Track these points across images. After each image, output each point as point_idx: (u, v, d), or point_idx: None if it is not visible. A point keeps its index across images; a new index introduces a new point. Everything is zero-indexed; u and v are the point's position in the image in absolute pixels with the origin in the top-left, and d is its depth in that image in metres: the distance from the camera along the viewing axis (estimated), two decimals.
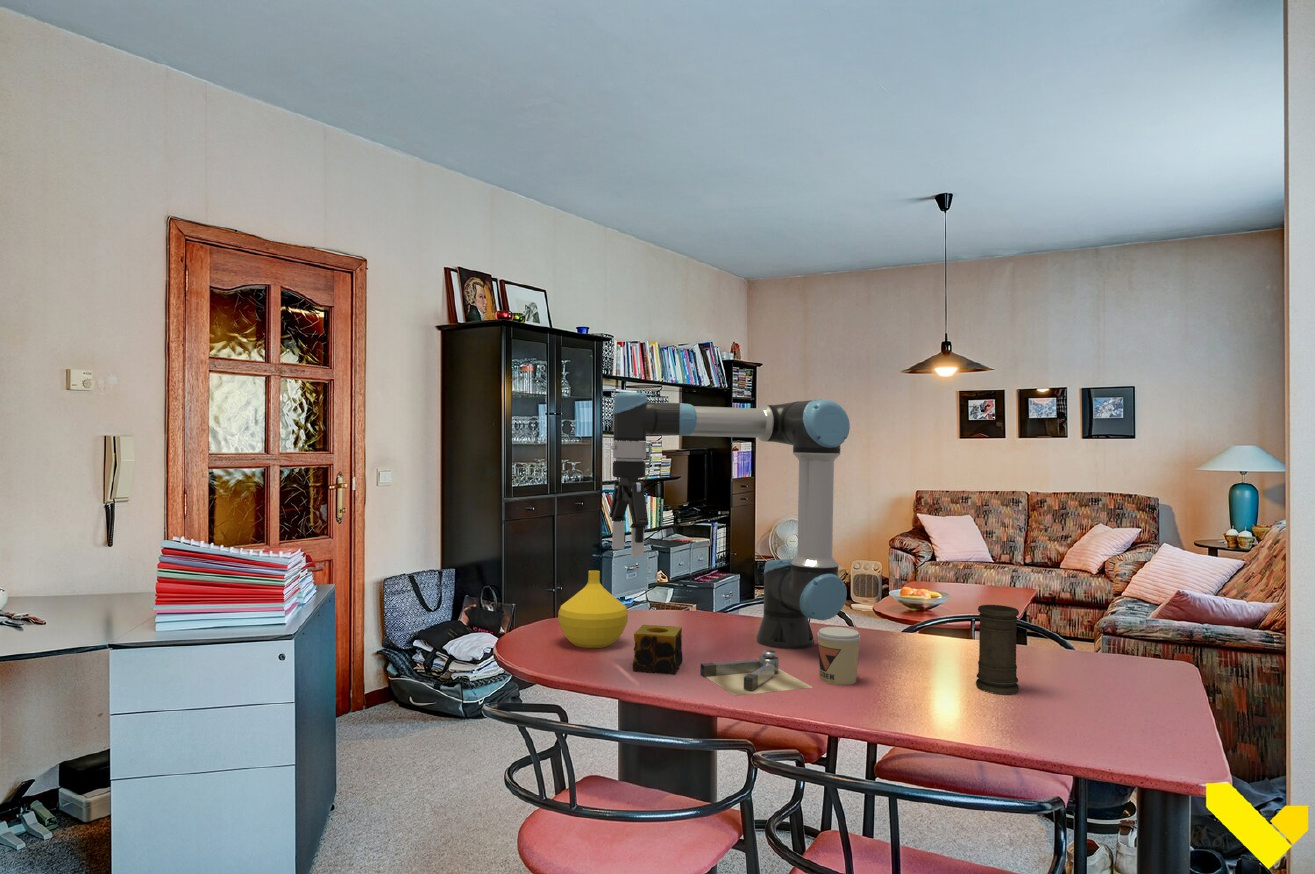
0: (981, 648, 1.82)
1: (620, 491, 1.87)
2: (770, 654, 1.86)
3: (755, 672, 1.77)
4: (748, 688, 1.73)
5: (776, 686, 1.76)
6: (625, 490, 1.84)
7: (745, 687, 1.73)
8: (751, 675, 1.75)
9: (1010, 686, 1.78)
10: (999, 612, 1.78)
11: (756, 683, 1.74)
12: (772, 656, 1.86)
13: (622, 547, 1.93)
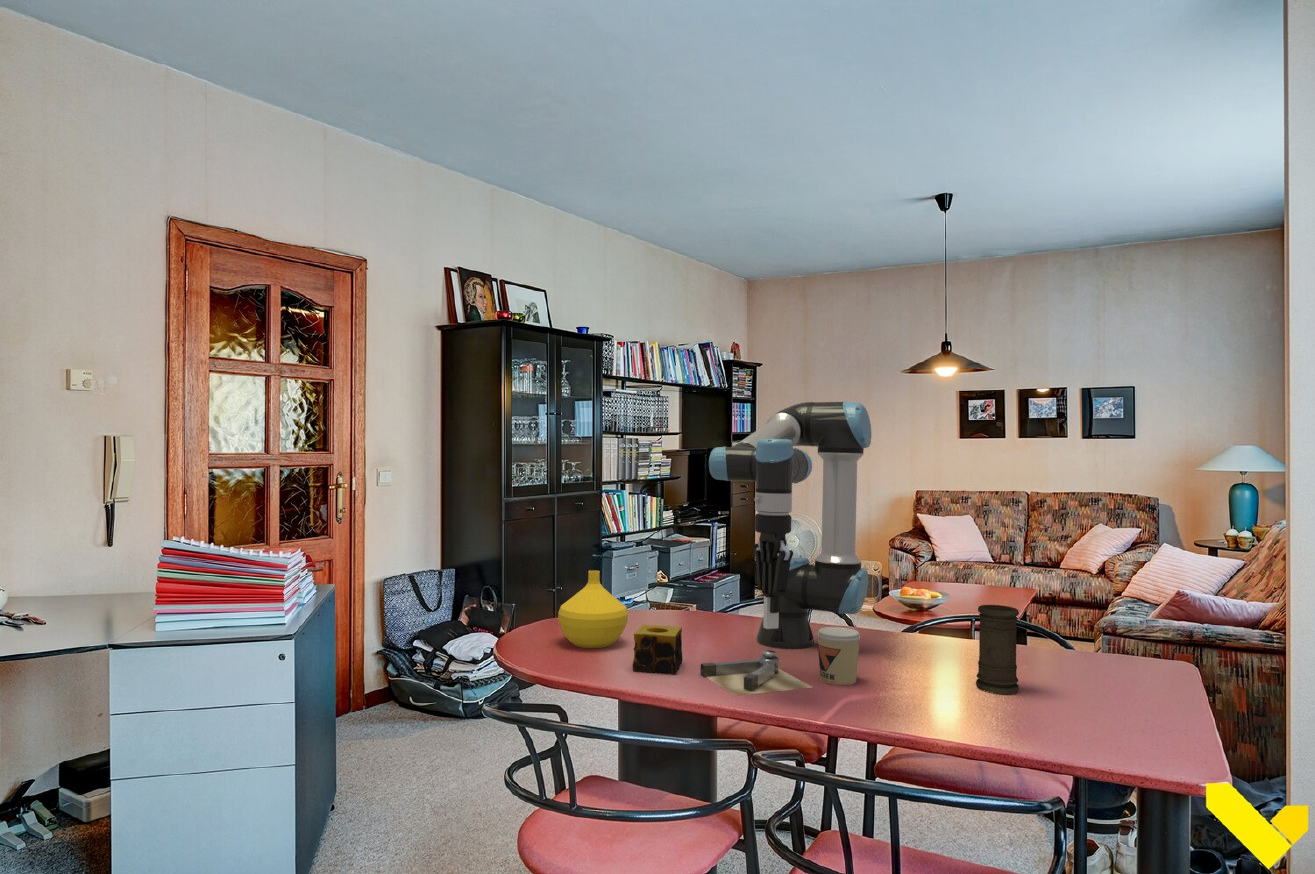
0: (981, 648, 1.82)
1: (764, 547, 1.69)
2: (770, 654, 1.86)
3: (755, 672, 1.77)
4: (748, 688, 1.73)
5: (776, 686, 1.76)
6: (770, 550, 1.66)
7: (745, 687, 1.73)
8: (751, 675, 1.75)
9: (1010, 686, 1.78)
10: (999, 612, 1.78)
11: (756, 683, 1.74)
12: (772, 656, 1.86)
13: None
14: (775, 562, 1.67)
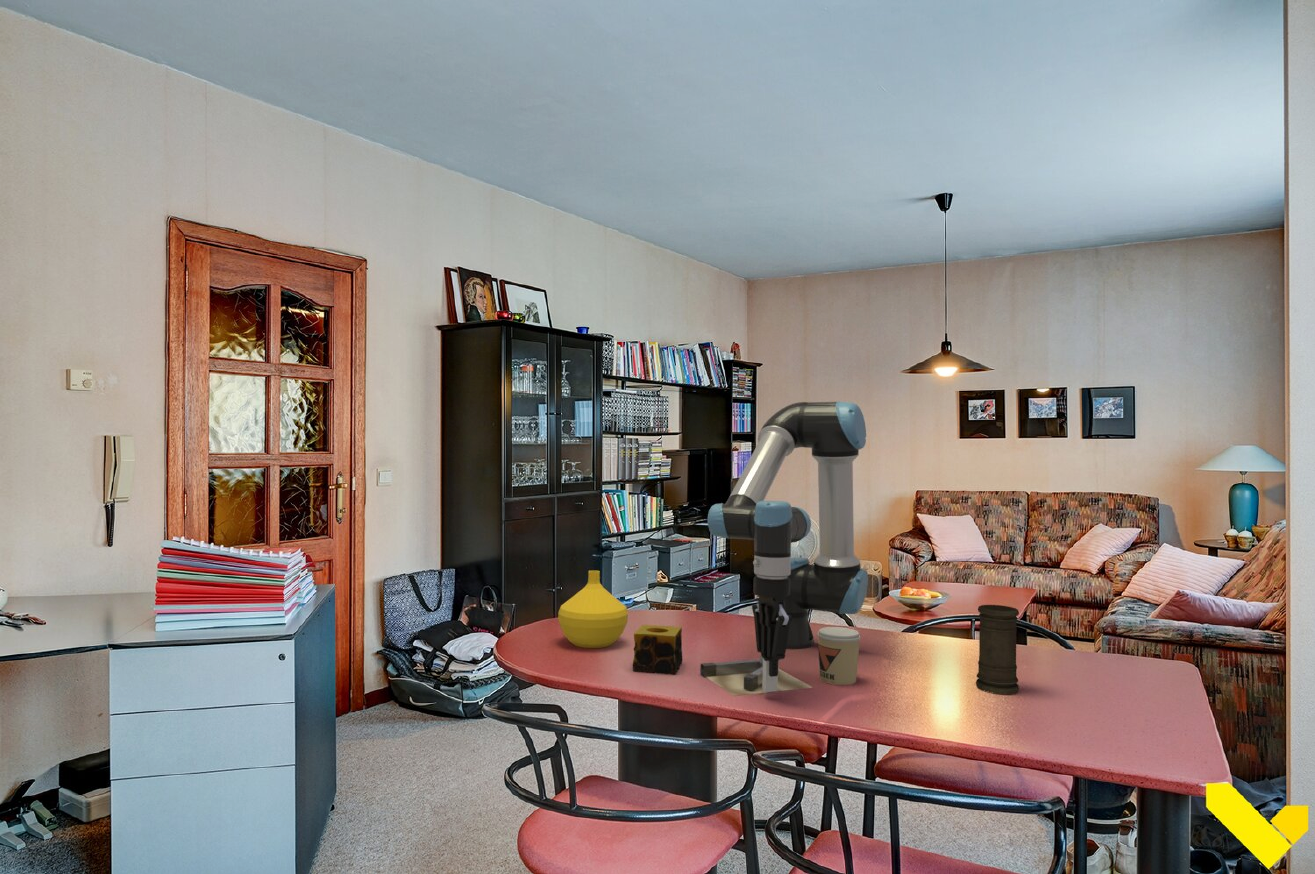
0: (981, 648, 1.82)
1: (763, 609, 1.69)
2: None
3: (755, 672, 1.77)
4: (748, 688, 1.73)
5: None
6: (769, 614, 1.66)
7: (745, 687, 1.73)
8: (751, 675, 1.75)
9: (1010, 686, 1.78)
10: (999, 612, 1.78)
11: (756, 683, 1.74)
12: None
13: None
14: (774, 625, 1.67)
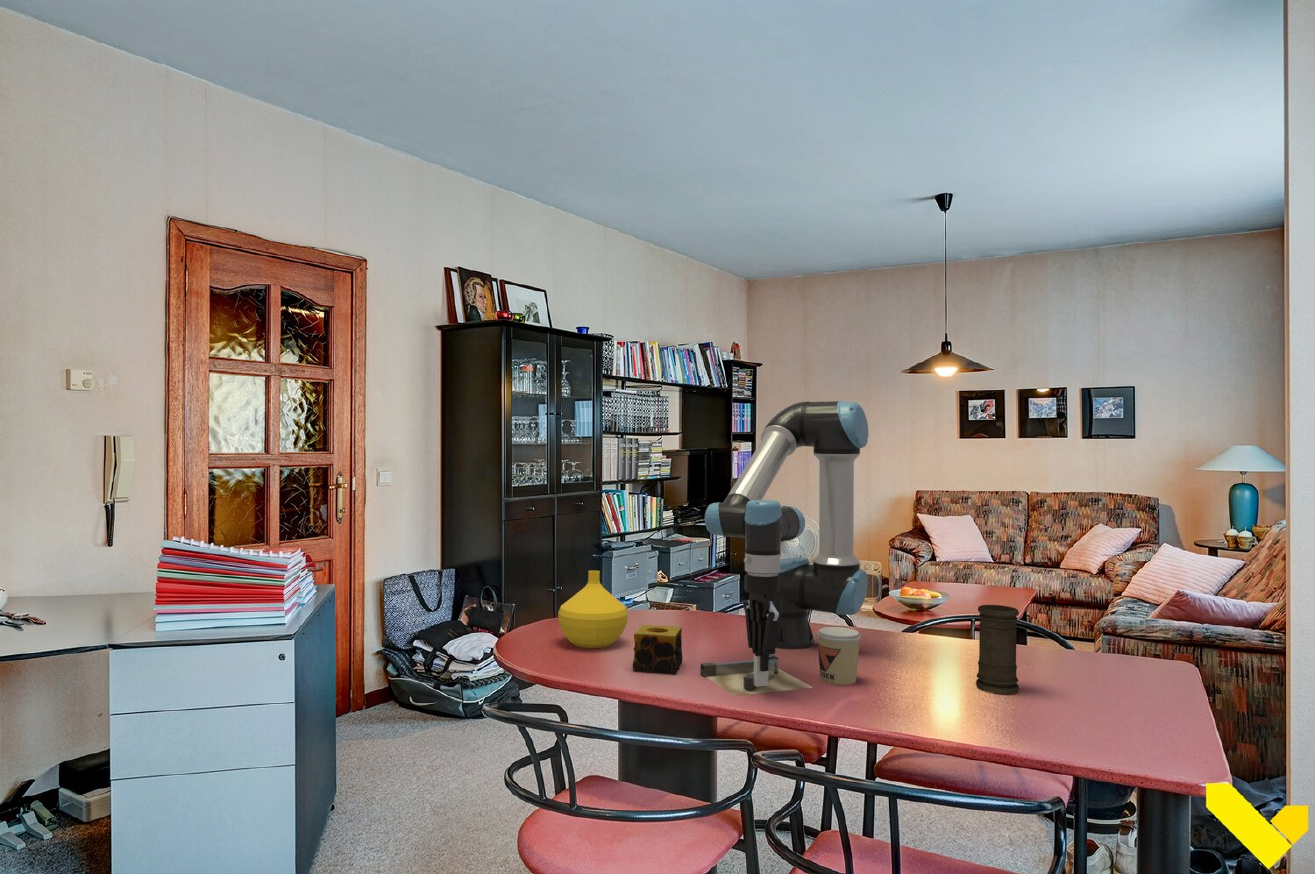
0: (981, 648, 1.82)
1: (753, 606, 1.73)
2: None
3: None
4: (748, 688, 1.73)
5: (776, 686, 1.76)
6: (759, 610, 1.70)
7: (745, 687, 1.73)
8: (751, 675, 1.75)
9: (1010, 686, 1.78)
10: (999, 612, 1.78)
11: None
12: (772, 656, 1.86)
13: None
14: (764, 622, 1.71)
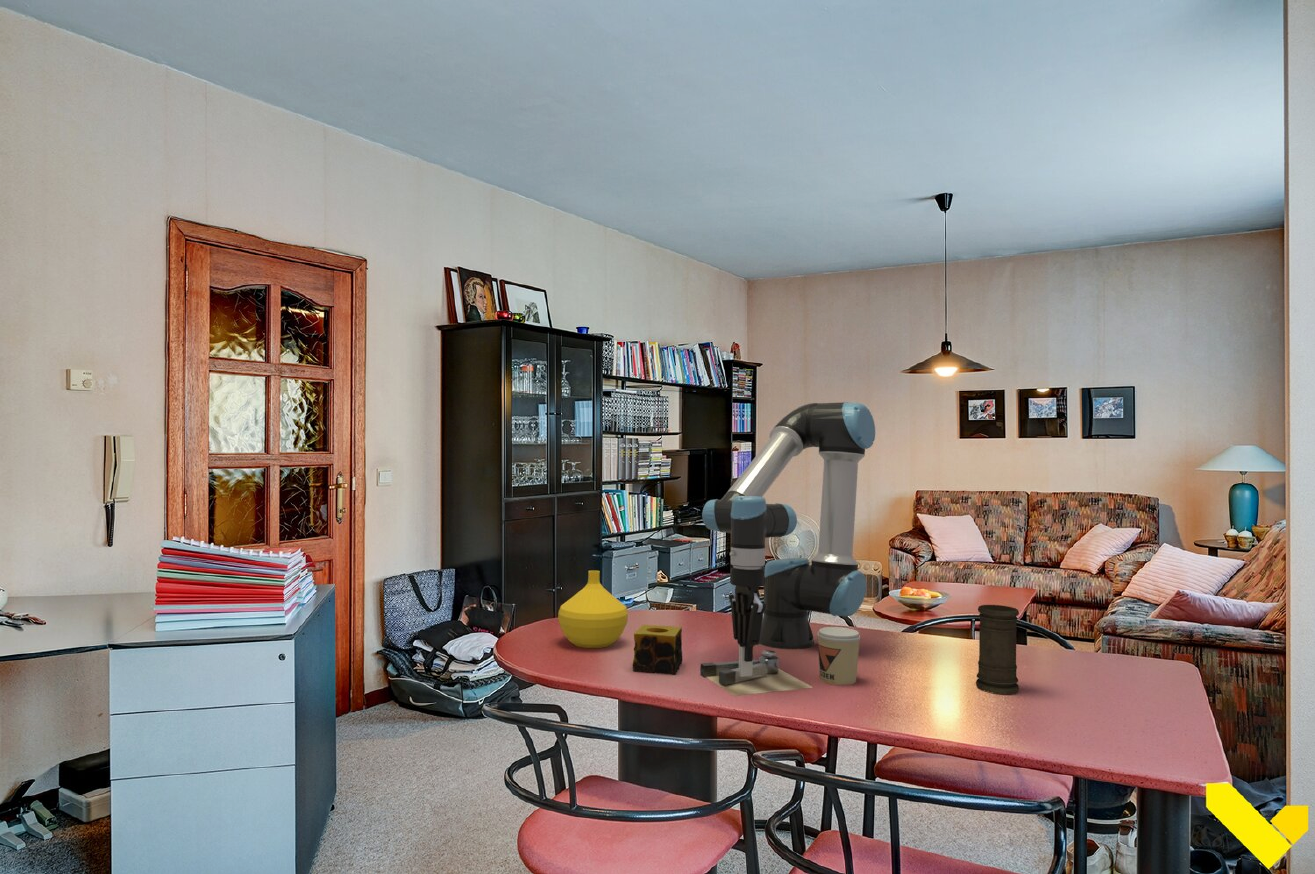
0: (981, 648, 1.82)
1: (739, 598, 1.79)
2: (767, 654, 1.86)
3: (737, 668, 1.80)
4: (722, 682, 1.76)
5: (776, 686, 1.76)
6: (744, 602, 1.76)
7: (720, 681, 1.77)
8: (728, 670, 1.78)
9: (1010, 686, 1.78)
10: (999, 612, 1.78)
11: (732, 679, 1.77)
12: (770, 656, 1.86)
13: None
14: (749, 613, 1.77)
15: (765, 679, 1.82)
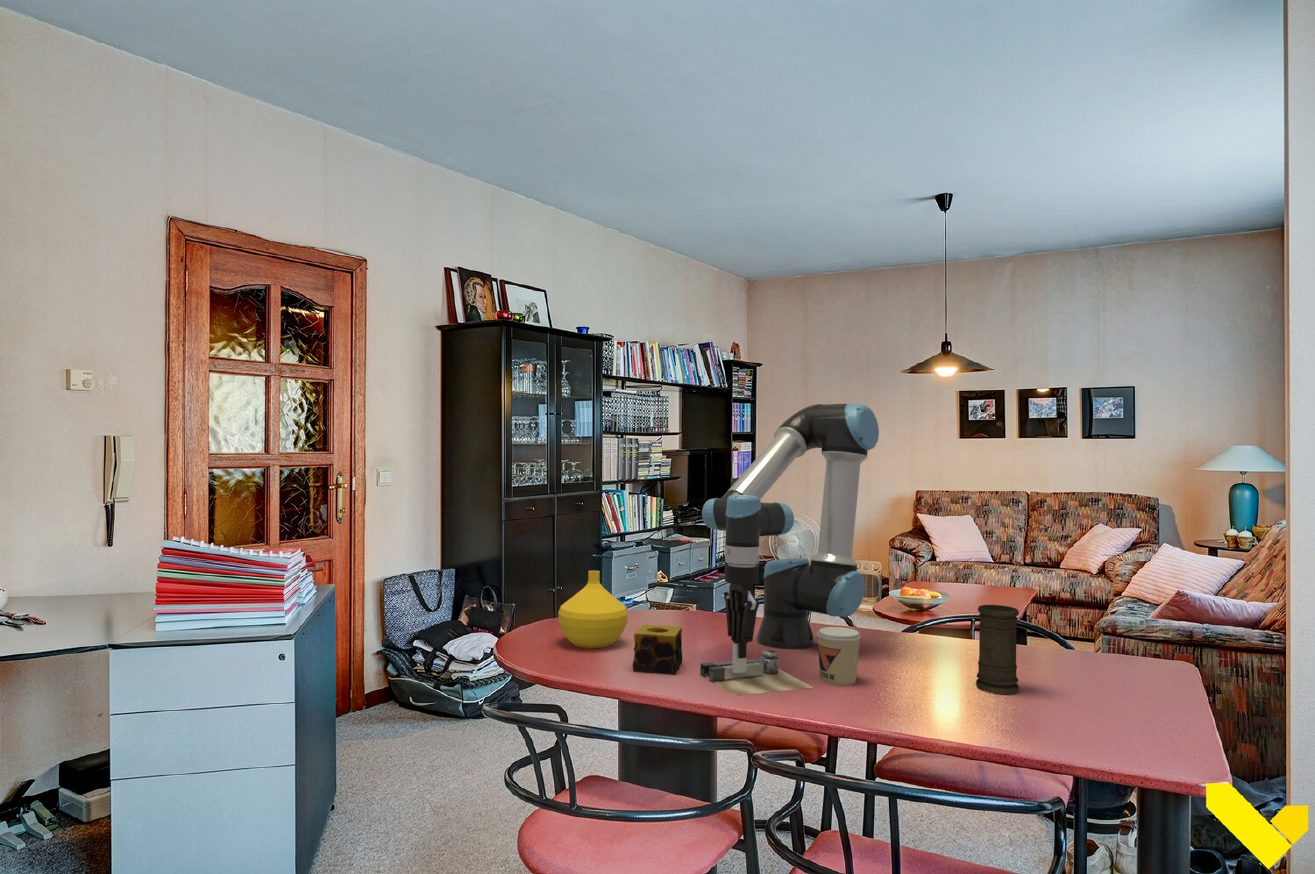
0: (981, 648, 1.82)
1: (733, 596, 1.81)
2: (766, 654, 1.86)
3: (729, 666, 1.82)
4: (710, 678, 1.79)
5: (776, 686, 1.76)
6: (738, 599, 1.79)
7: (709, 677, 1.80)
8: (718, 667, 1.80)
9: (1010, 686, 1.78)
10: (999, 612, 1.78)
11: (721, 675, 1.79)
12: (768, 656, 1.86)
13: None
14: (743, 611, 1.79)
15: (765, 679, 1.82)
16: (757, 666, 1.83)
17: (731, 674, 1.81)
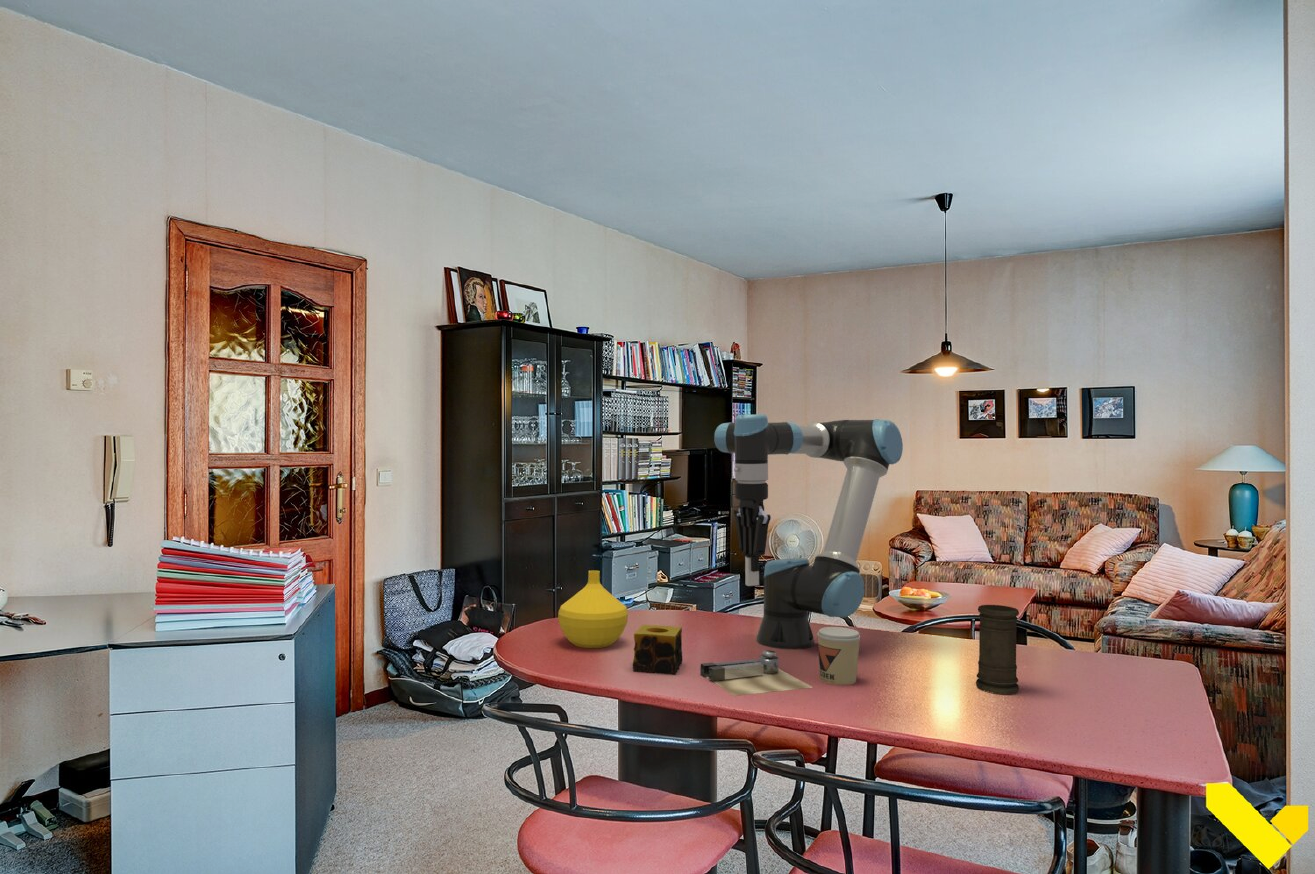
0: (981, 648, 1.82)
1: (744, 512, 1.86)
2: (766, 654, 1.86)
3: (729, 666, 1.82)
4: (710, 678, 1.79)
5: (776, 686, 1.76)
6: (749, 515, 1.84)
7: (709, 677, 1.80)
8: (718, 667, 1.80)
9: (1010, 686, 1.78)
10: (999, 612, 1.78)
11: (721, 675, 1.79)
12: (768, 656, 1.86)
13: None
14: (754, 526, 1.84)
15: (765, 679, 1.82)
16: (757, 666, 1.83)
17: (731, 674, 1.81)
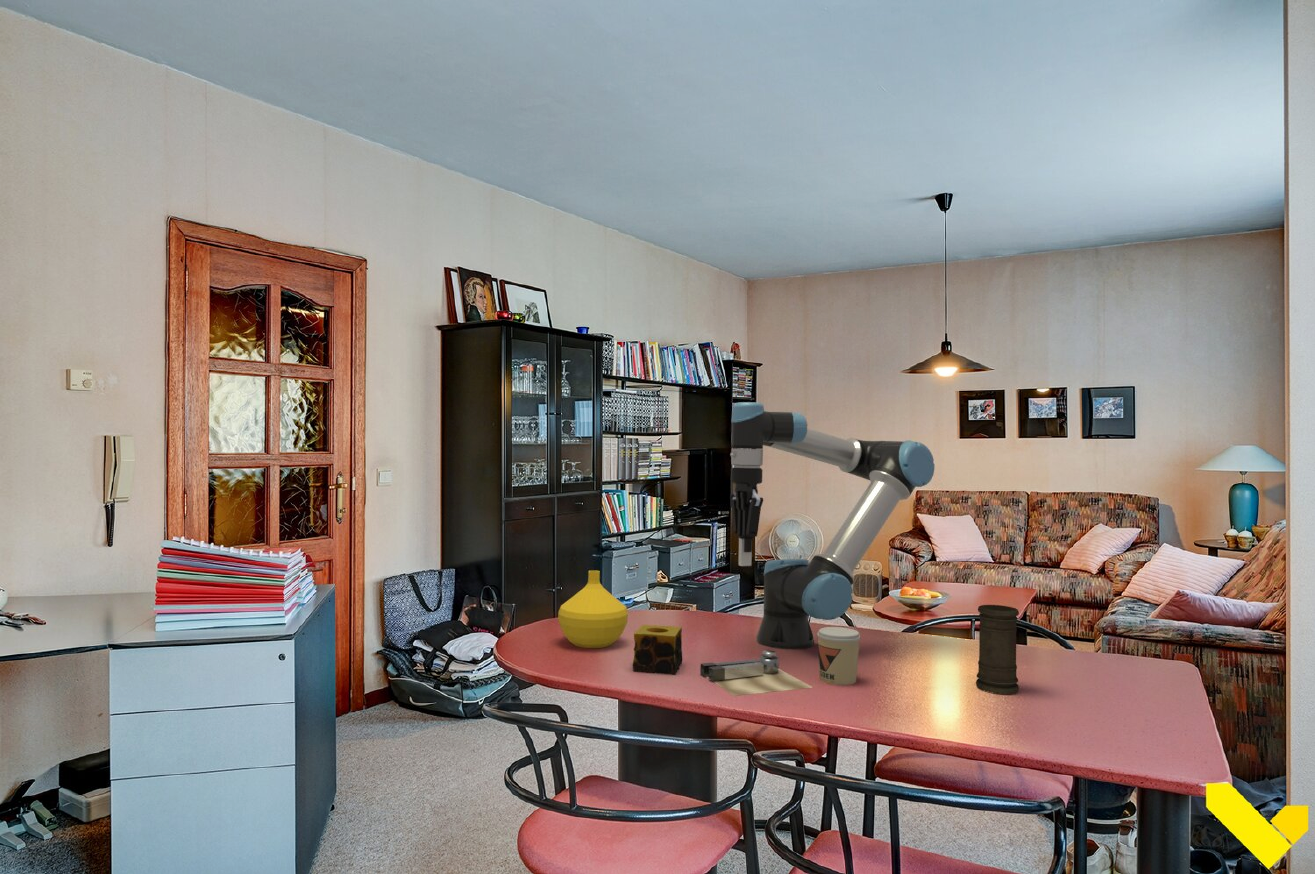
0: (981, 648, 1.82)
1: (739, 495, 1.96)
2: (766, 654, 1.86)
3: (729, 666, 1.82)
4: (710, 678, 1.79)
5: (776, 686, 1.76)
6: (743, 498, 1.93)
7: (709, 677, 1.80)
8: (718, 667, 1.80)
9: (1010, 686, 1.78)
10: (999, 612, 1.78)
11: (721, 675, 1.79)
12: (768, 656, 1.86)
13: None
14: (748, 508, 1.94)
15: (765, 679, 1.82)
16: (757, 666, 1.83)
17: (731, 674, 1.81)
